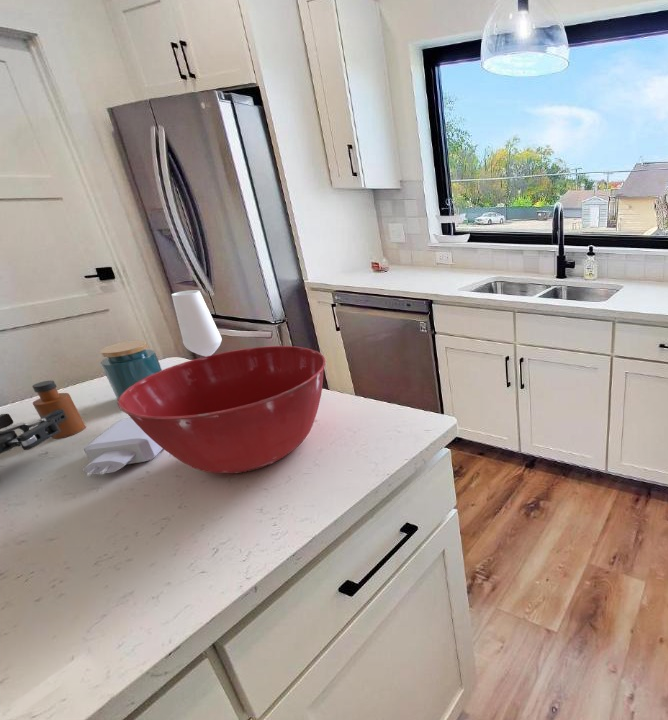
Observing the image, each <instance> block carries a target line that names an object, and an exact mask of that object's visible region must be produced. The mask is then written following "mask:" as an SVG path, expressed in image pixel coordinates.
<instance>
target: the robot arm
mask: <svg viewBox="0 0 668 720" xmlns="http://www.w3.org/2000/svg"><path fill="white" fill-rule="evenodd" d="M66 418H67V417H66V415H65V413H64V411H63V410H62V409H58V410H54V411H53V412H51V413H49V414H47V415H46V416H44V417H42V418H40V417H39V418H38V419H36V420H33V421H29V422H26V423H24V422H18V423H15V424H14V420H13V418H12V417H11V415H10V414H9V413H1V414H0V455H1V454H4V453H7V452H9V451H12V449H14V448H16V447H21V449H22V450H23V451H29V450H32V449H33V448H35V447H37V446H38V445H40V444H42V443H44V442H46V441H47V440H49V439H50V438H52V436H54V435H56V434H57V433H59V432H61V431H60V429H59V427H58V424H59V423H61V422H63V421H64V420H66ZM16 430H20V431H21V432H20V434H19V435H18V434H17V433H16Z"/></svg>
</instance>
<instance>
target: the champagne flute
mask: <svg viewBox="0 0 668 720" xmlns="http://www.w3.org/2000/svg"><path fill="white" fill-rule="evenodd" d="M171 299H172V303H173V307H174V312H175V315H176V319H177V323H178V327H179V331H180V335H181V340H182V343H183V346H184V348H185V349H187V350H188V351H189V352H191V353H194V354H196V355H199V356H202V357H206V356H210V355H214V354H215V353H216V351H217V350H218V349H219V348H220V346H221V344H222V340H223V339H222V335H221V334H220V331H219V329H218V327H217V325H216V322H215V320H214V319H213V316H212V314H211V312H210V309H209V307H208V306H207V304H206V302H205V299H204V296H203V294H202V292H201V291H200V290H199V289H191V290H183V291H182V290H181V291H178V292H174V293H171Z"/></svg>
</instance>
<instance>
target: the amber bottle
mask: <svg viewBox="0 0 668 720" xmlns="http://www.w3.org/2000/svg"><path fill="white" fill-rule="evenodd" d="M31 388H32V389H33V391H34V392H35V393H37V394H38V397H39V398H37V399H36V400H34V401H33V402H32V405H33V407H34V409H35V411H36V412H37V414H38V416H39V419H40V418H42V417H44V416H46V415H47V414H49V413H51V412H53V411H54V410H58V409H62V410H63V411H64V413H65V415H66V417H67V418H66V420H64V421H63V422H61V423H59V424H58V427H59V429H60V431H61V432H59V433H57V434H56V435H54V436H52V437H51V438H52V439H62V438H63V439H64V438H67V437H71V436H74V435H76V434H79V433H81V432H82V431H84V430H85V429H86V428H87V426H86V424H85V422H84V420H83V417H82V416H81V414H80V412H79V410H78V408H77V406H76V405H75V403H74V400H73V398H72V397H71V395H70V393H69V392H59V391H58V389H57V388H58V387H57V384H56V382H55V380H44V381H40V382H37V383H34V384H33V385H32V386H31Z"/></svg>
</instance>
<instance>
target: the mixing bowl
mask: <svg viewBox="0 0 668 720" xmlns="http://www.w3.org/2000/svg"><path fill="white" fill-rule="evenodd" d="M325 367H326V357H325V356H324V355H323V354H322V353H321V352H319V351H318V350H315V349H311V348H307V347H303V346H291V345H274V346H273V345H270V346H257V347H250V348H241V349H235V350H230V351H224V352H221V353H220V352H219V353H214V354H212V355H210V356H206V357H205V356H202V357H198V358H195V359H192V360H188V361H185V362H184V361H183V362H182V363H178V364H175V365H172V366H170V367H166V368H163V369H162V371H159V372H157V373H154V374H152V375H150V376H148V377H146V378H144V379H142V380H140V381H139V382H137V383H135V384H134V385H132V386H131V387H129V388H128V389H127V390H125V391H124V392H123V393H122V395H121V396H120V397H119V400H117V405H118V408H119V409H120V410H121V412H123V413H125V414H126V415H128V416H129V418H132V420H133V421H134V422H135V423H136V424H137V425H138V426H139V427H140V428H141V429H142V430H143V431H144V432H145V433H146V434H147V435H148V436H149V437H150V438H151V439H152V440H153V441H154V442H156V443H157V444H158V445H159V446H160V447H162V448H163V449H162V450H164V451H165V452H167V454H169V455H171V456H172V457H174V458H175V459H177V460H178V461H180V462H181V463H183V464H185V465H187V466H189V467H191V468H193V469H195V470H199V471H202V472H206V473H213V474H242V472H243V473H247V471H248V472H252V471H255V470H254V469H256V470H259V469H262V468H265V467H268V466H270V465H272V464H274V463H277V462H278V460H279V461H280V460H282V459H283V458H286V457H287V456H288V455H289V454H290V453H291V452H292V451H294V450H295V449H296V448H298V447H299V446H300V445H301V444H302V443H303V442H304V441H305V439H306V438H307V436H308V435H309V434H310V432H311V430H312V428H313V426H314V422H315V420H316V417H317V414H318V410H319V406H320V403H321V398H322V391H323V385H324V384H323V383H324V369H325ZM287 454H288V455H287ZM281 458H282V459H281ZM276 461H277V462H276ZM267 465H268V466H267ZM264 466H265V467H264ZM258 468H259V469H258ZM251 470H252V471H251Z"/></svg>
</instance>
